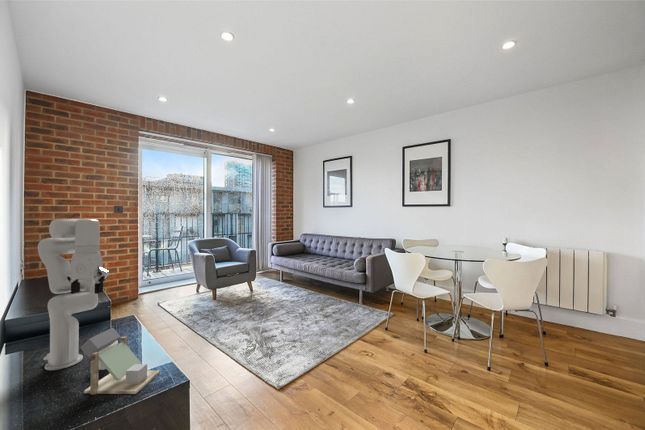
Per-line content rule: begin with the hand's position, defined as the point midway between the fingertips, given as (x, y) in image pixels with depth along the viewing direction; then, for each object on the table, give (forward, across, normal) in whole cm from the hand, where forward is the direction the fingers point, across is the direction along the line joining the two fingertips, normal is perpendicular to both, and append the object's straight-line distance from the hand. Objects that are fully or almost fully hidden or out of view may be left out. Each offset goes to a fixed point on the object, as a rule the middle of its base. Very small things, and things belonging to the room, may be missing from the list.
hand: (87, 292), depth 107 cm
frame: (+36, +14, +2) cm, 39 cm away
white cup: (+36, -4, +14) cm, 39 cm away
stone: (+33, +17, +2) cm, 37 cm away
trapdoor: (+27, +7, +2) cm, 28 cm away
